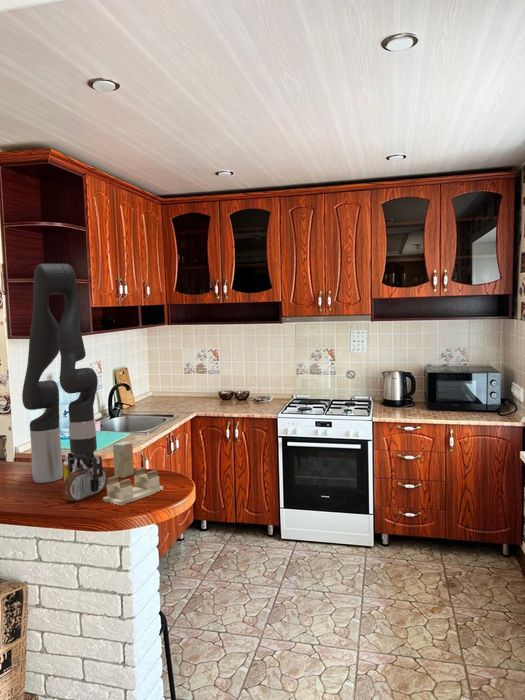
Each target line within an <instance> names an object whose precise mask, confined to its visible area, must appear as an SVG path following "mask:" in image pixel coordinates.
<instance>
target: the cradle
mask: <svg viewBox="0 0 525 700" xmlns="http://www.w3.org/2000/svg"><path fill="white" fill-rule="evenodd" d="M158 472H159V471H158V470H157V469H156V470H155V469H153V470H151V471H148V472H146V468H145V467H139V468H136V469H134V474H133V475H134V476H133V482H134V483H133V484H134V486H133V485H132V479H131V478H125V479H123V480H121V481H120V480H119V477H118V476H115V475H114V476H110V477H107V481H106V494H107V495H106V496H104V497H102V501H103V502H106V503H109V502H110V503H109V504H112V503H113V504H112V505H116V504H117V505H116V506H119V505H120V507H121V505H122V506H124V505H127V504H129V502H130V503H132V502H134V501H137V500H140V499H143V498H145V497H148V496H151V495H154V494H156V492H157V493H159V492H161V491H160V490H162V491H164V490H163V489H165V488H164V486H163V485H161V484H160V476H159V473H158ZM158 491H159V492H158ZM126 503H127V504H126Z"/></svg>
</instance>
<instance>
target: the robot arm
mask: <svg viewBox="0 0 525 700" xmlns="http://www.w3.org/2000/svg"><path fill="white" fill-rule="evenodd" d="M76 277H77V276H76V273H75V270H74V268H73V267H72V265H70V264H67V263H40V264H37V266H36V267H35V270H34V272H33V289H32V290H33V291H32V293H33V295H32V296H33V297H32V316H31V323H30V324H31V325H30V333H29V341H28V356H27V363H26V364H27V366H26V372H25V376H24V381H23V386H22V393H21V400H22V404H23V405H22V406H24V409H26V410H30V411H35V410H42V409H44V410H45V411H44V412H43V413H42V414H41V415H40V416H37V417H36V418H34V419H32V420H31V421H30V422H29V434H30V435H29V437H30V449H31V452H30V457H31V458H30V459H31V470H32V480H33V482H34V483H38V484H42V483H43V484H44V483H50V482H55V481H58V480H61V479H63V478H64V469H63V459H62V457H63V456H62V443H61V428H60V390H59V385H58V384H57V382H56V381H55V380H52V379H50V380H49V379H48V380H40V379H41V377H42V375H43V373H44V372H45V370H47V368H48V367H49V366H50V365H51V364H52V363H53V362H54V361H55V359H56V358H57V356H58V355H59V353H60V371H59V384H60V387H61V389H62V390H63V391H64V392H65V393H67V394H78V393H79V396H78V398H77V399H75V400H73V401H71V402H70V403H69V404H68V406H67V407H68V421H69V425H68V435H69V436H68V437H69V438H68V439H69V447H70V448H69V451H70V452H68V453H67V454H68V471H69V472H71V473H72V472H75V471H78V470H81V469H83V470H85V472H86V473H87V474H88V475H89V477H90V479H91V480H90V485H91V492H96V491H98V490H99V482H98V478H99V477H102V476H103V469H104V468H103V459H102V458H103V457H102V456H95V453H94V452H95V451H97V448H98V446H97V429H96V428H97V427H96V423H95V413H94V412H95V411H94V404H95V400H96V394H97V390H98V389H97V388H98V383H99V382H98V381H99V380H98V375H97V373H96V372H95V370H94V369H93V368H91V367H81V368H76V363H77V362H79V361H82V360H83V359H86V353H87V352H86V348H85V344H84V340H83V335H82V330H81V325H80V324H81V323H80V310H79V296H78V286H77V285H78V284H77V278H76ZM50 295H55V296H56V295H63V297H64V310H63V314H62V316H61V318H60V321H59V323H58V321H57V320H56V318H55V317H54V315H53V314H52V312H51V310H50V305H49V297H50ZM72 464H74V465H73V467H72ZM92 466H93V468H92ZM91 468H92V469H91ZM98 469H99V473H98V471H97V470H98ZM92 472H93V474H92Z"/></svg>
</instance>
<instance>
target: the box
mask: <svg viewBox="0 0 525 700" xmlns="http://www.w3.org/2000/svg"><path fill="white" fill-rule="evenodd" d="M112 447H113V448H112V449H113V450H112V451H113V469H114V476H118V478H127V477H130V476H132V475H135V469H134V449H133V447H134V446H133V442H132V441H125V440H124V441H119V442H117V443H114V444H112Z"/></svg>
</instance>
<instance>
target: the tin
mask: <svg viewBox="0 0 525 700" xmlns="http://www.w3.org/2000/svg"><path fill="white" fill-rule="evenodd" d="M92 468H93V466H92ZM92 468H91V469H92ZM97 471H98V473H99V469H98V470H97ZM92 474H93V472H92ZM107 478H108V475H107V470H106V469H105V468H103V476H102V477H99V478H98V482H99V490H98V491H96V492H91V485H90V480H91V479H90V477H89V475H88V474H87V473H86V472H85V470H83V469H81V470H78V471H75V472H72V473H71V474H69V475H68V476H67V478H66V479H65V481H63V484H62V494H63V496H64V498H65V499H66V500H69V501H74V502H79V501H81V500H85V499H87V498H89V497H92V496H94V495H97V494H100V493H101V492H102V491H103V490H104V489H105V487H106V486H107Z"/></svg>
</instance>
